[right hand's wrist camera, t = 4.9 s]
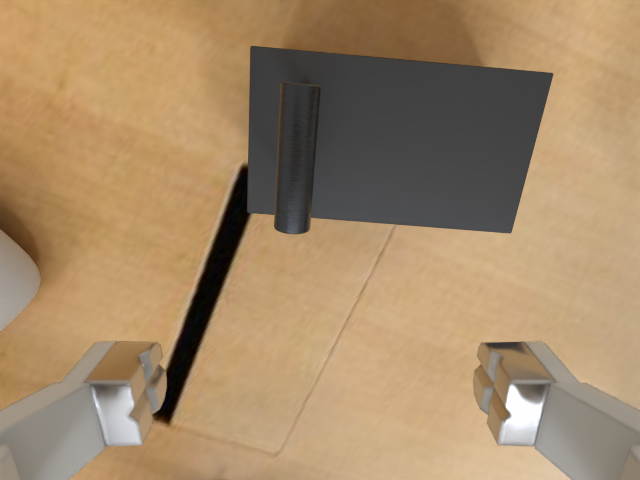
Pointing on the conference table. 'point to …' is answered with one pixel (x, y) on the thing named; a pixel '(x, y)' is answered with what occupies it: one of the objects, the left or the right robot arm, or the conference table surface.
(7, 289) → the grey rounded casing
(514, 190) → the lid
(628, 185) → the conference table surface
